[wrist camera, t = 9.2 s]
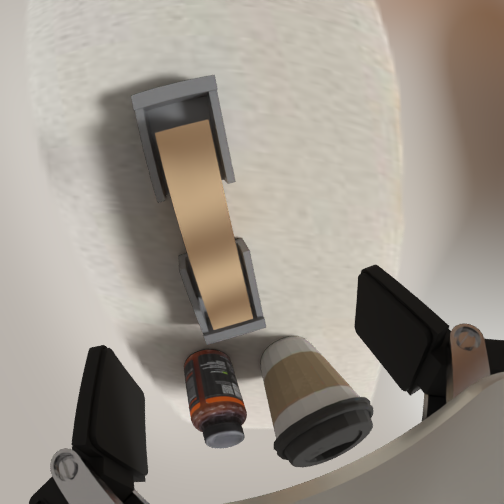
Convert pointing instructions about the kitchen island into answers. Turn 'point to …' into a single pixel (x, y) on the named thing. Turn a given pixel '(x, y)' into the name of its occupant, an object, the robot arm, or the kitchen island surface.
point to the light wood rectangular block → (204, 220)
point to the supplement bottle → (214, 398)
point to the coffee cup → (311, 404)
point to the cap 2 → (200, 308)
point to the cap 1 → (180, 123)
